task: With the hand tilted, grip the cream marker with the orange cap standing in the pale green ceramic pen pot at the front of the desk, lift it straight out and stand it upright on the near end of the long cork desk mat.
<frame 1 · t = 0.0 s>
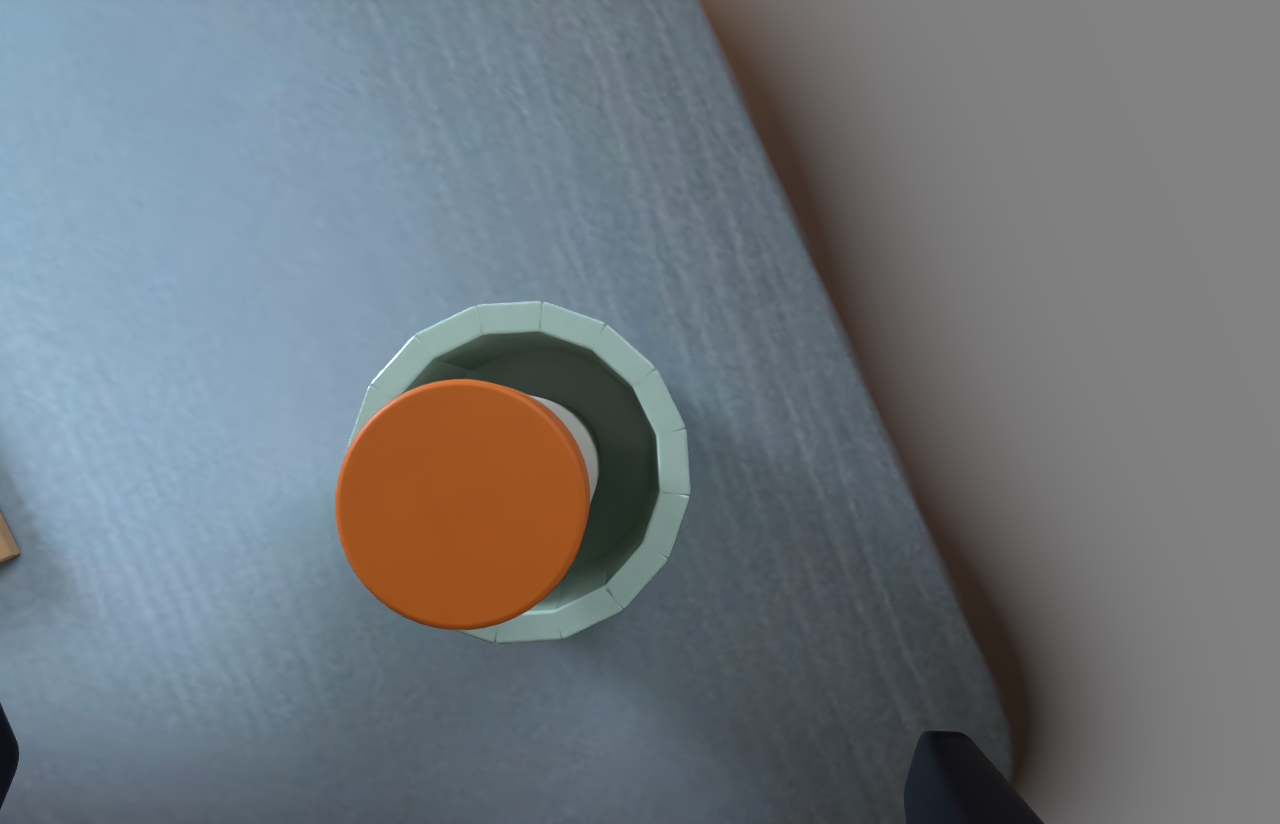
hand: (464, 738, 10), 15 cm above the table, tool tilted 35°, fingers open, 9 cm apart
pen pot: (541, 459, 25), on the table
marker: (540, 460, 24), resting on pen pot
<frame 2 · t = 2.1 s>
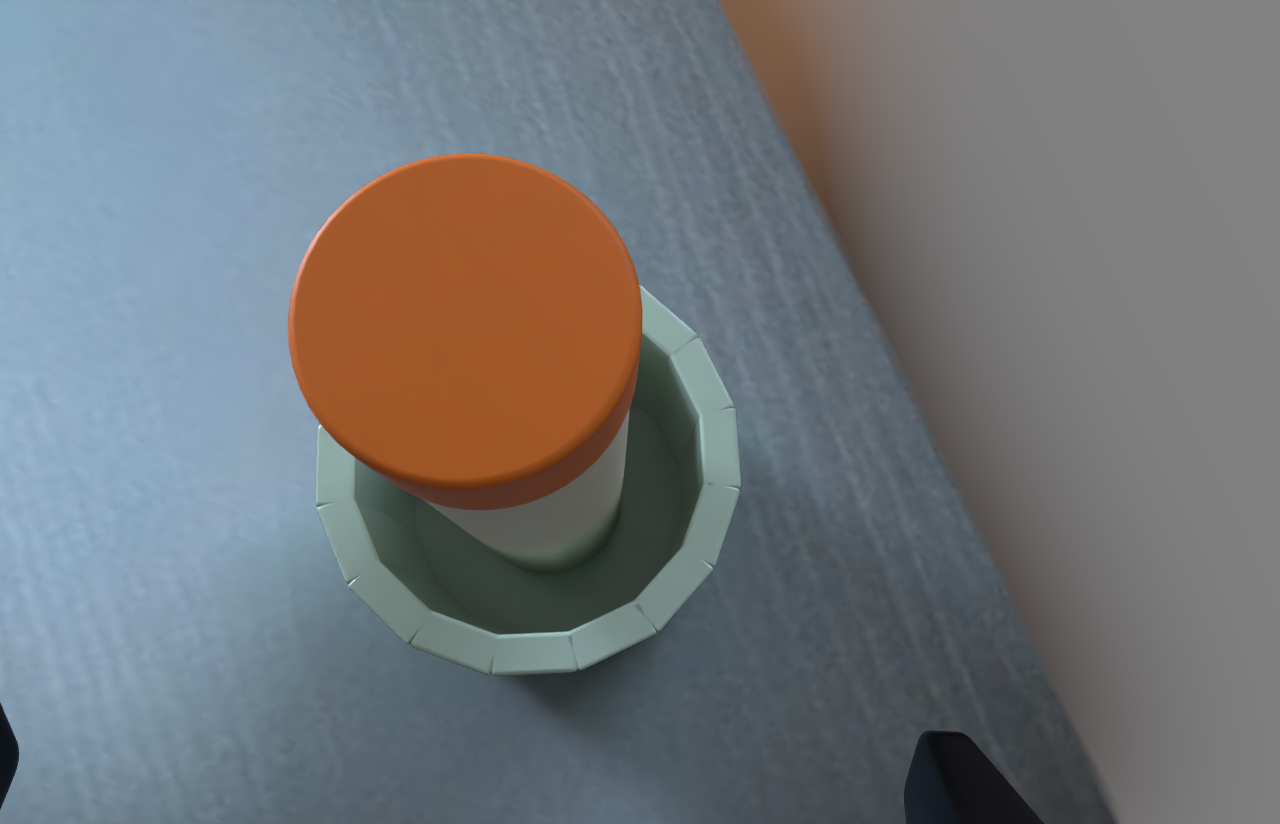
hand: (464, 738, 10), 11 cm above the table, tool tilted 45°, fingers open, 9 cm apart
pen pot: (549, 502, 21), on the table
marker: (548, 499, 20), resting on pen pot
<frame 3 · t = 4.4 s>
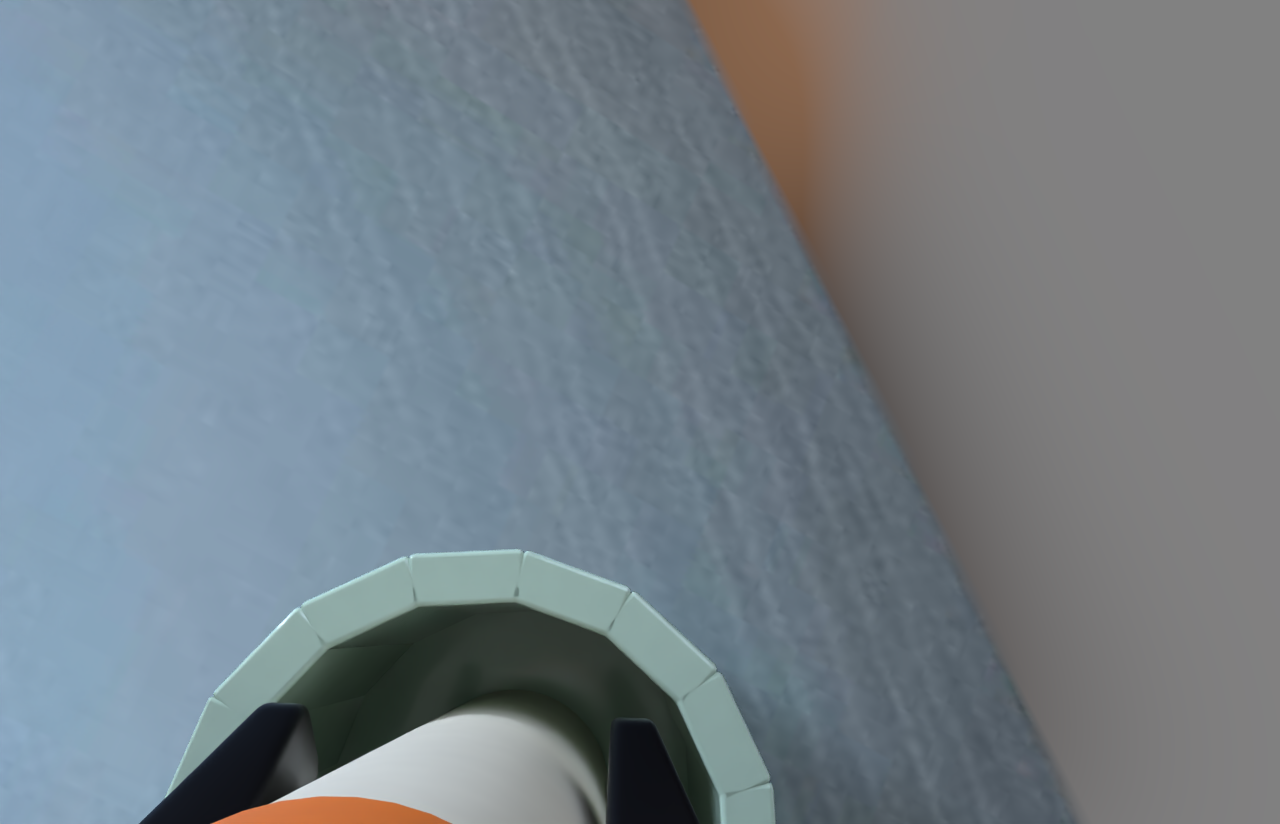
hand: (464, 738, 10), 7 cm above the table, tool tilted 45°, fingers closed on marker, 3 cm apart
pen pot: (516, 785, 16), on the table
marker: (511, 789, 15), point 1 cm above the table, touching gripper, pen pot
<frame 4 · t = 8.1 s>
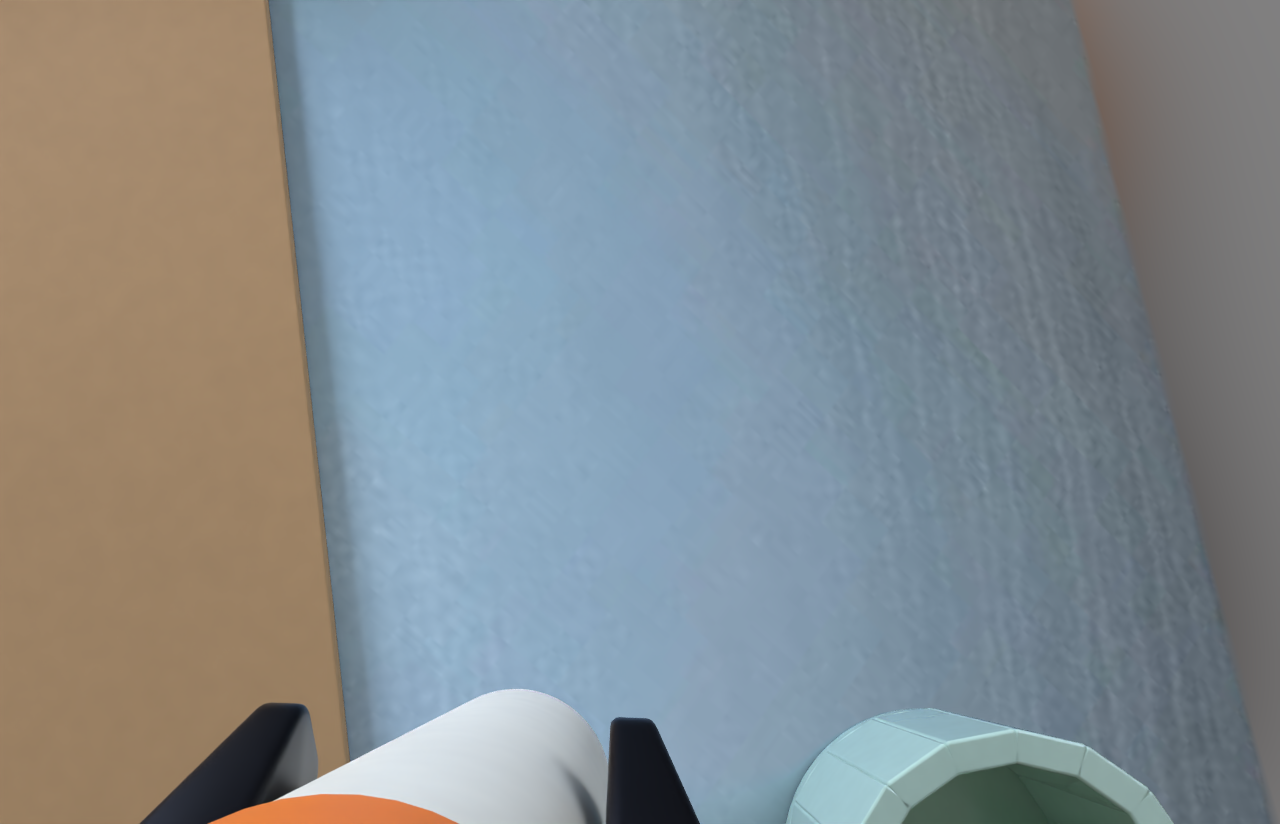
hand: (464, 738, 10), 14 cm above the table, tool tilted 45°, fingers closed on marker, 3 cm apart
marker: (513, 788, 15), point 8 cm above the table, touching gripper
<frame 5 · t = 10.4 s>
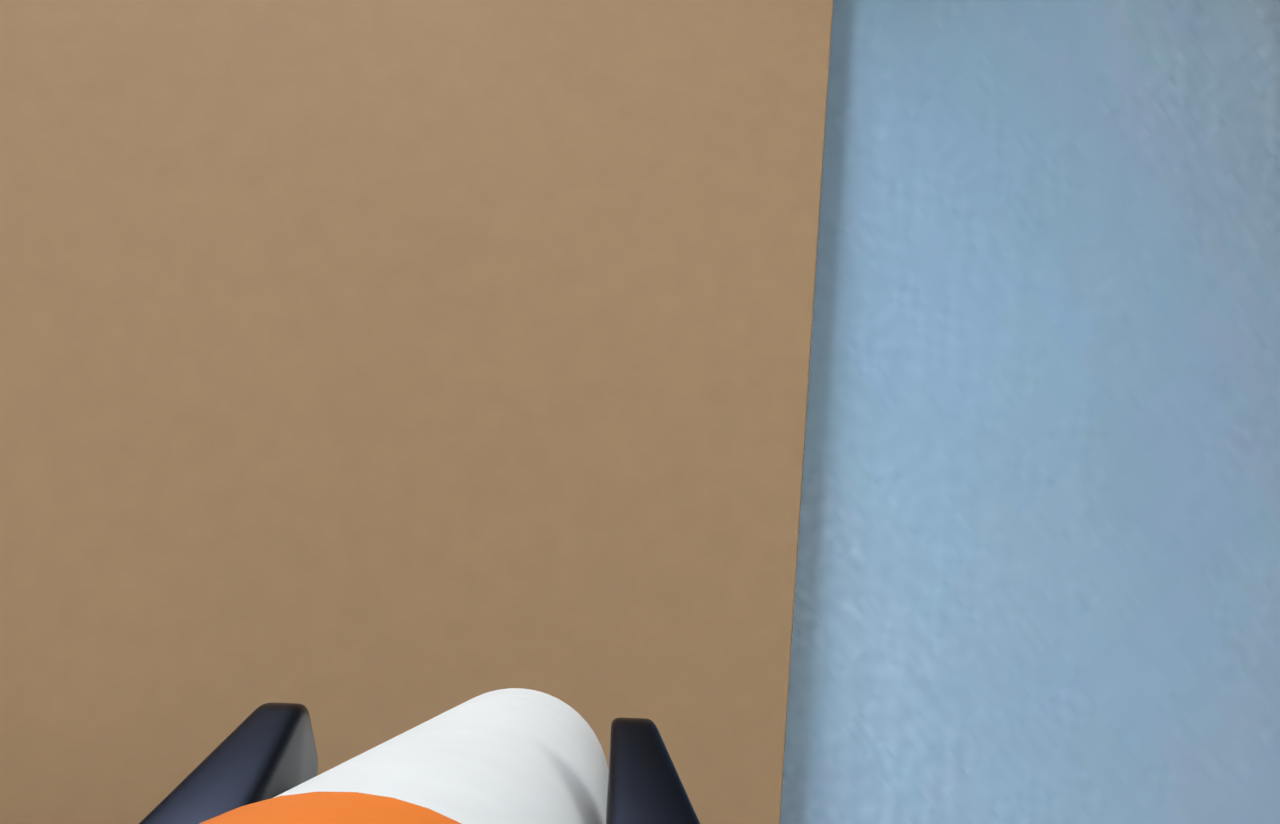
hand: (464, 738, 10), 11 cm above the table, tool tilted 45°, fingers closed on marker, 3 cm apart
marker: (513, 788, 15), point 5 cm above the table, touching gripper
desk mat: (389, 24, 24), on the table
when the fingers open (6 cm above the table, at t = 12.0 s): marker stays where it is, resting on desk mat.
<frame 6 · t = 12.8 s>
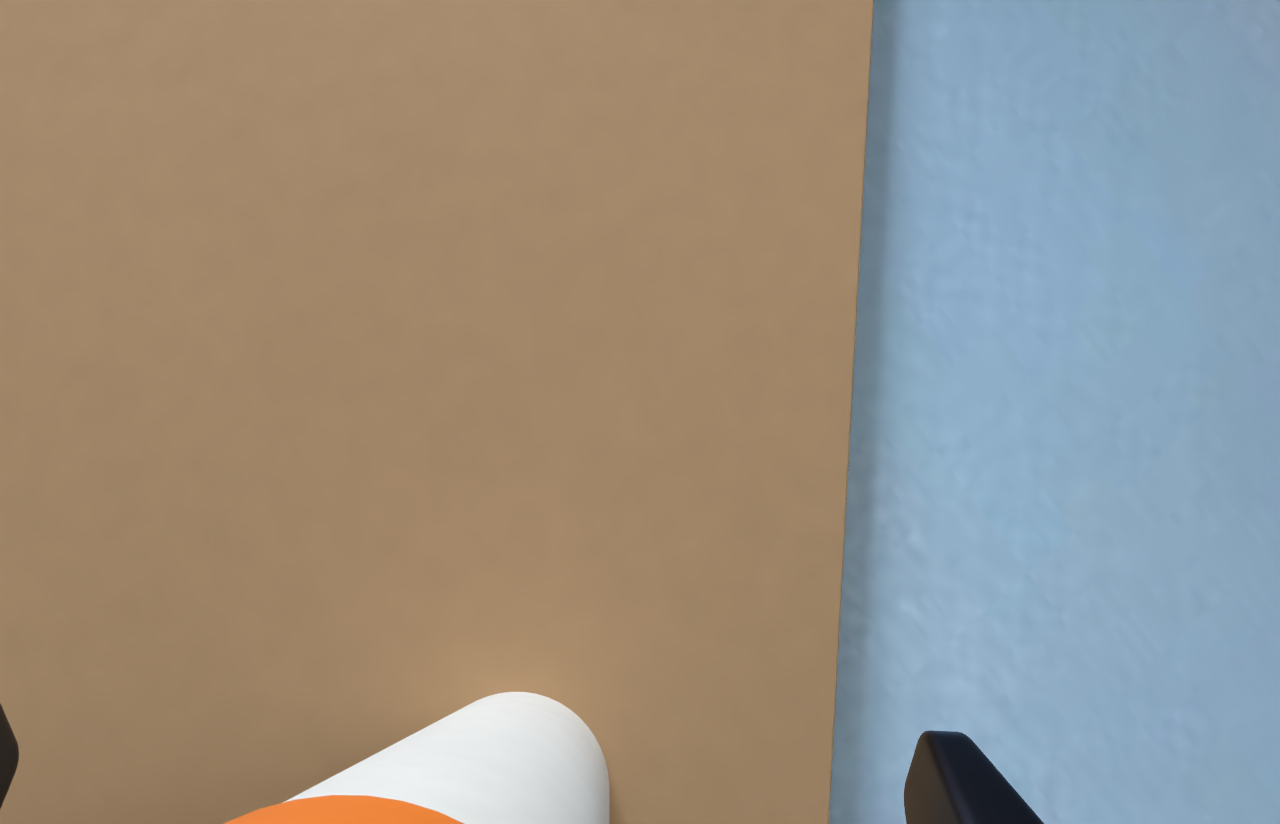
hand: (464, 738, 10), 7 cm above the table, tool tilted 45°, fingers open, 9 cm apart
marker: (514, 789, 16), resting on desk mat
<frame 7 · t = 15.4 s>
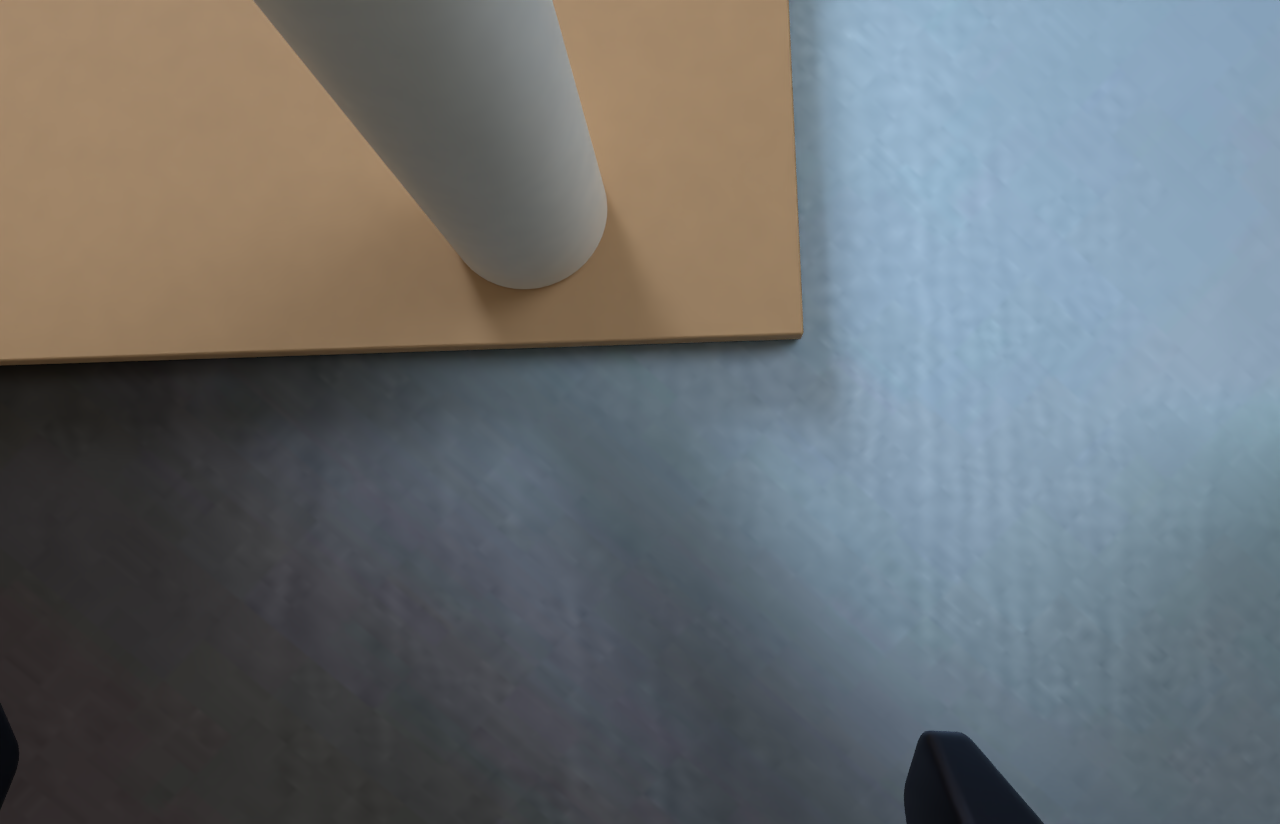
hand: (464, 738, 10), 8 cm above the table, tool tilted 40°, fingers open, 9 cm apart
marker: (528, 212, 18), resting on desk mat
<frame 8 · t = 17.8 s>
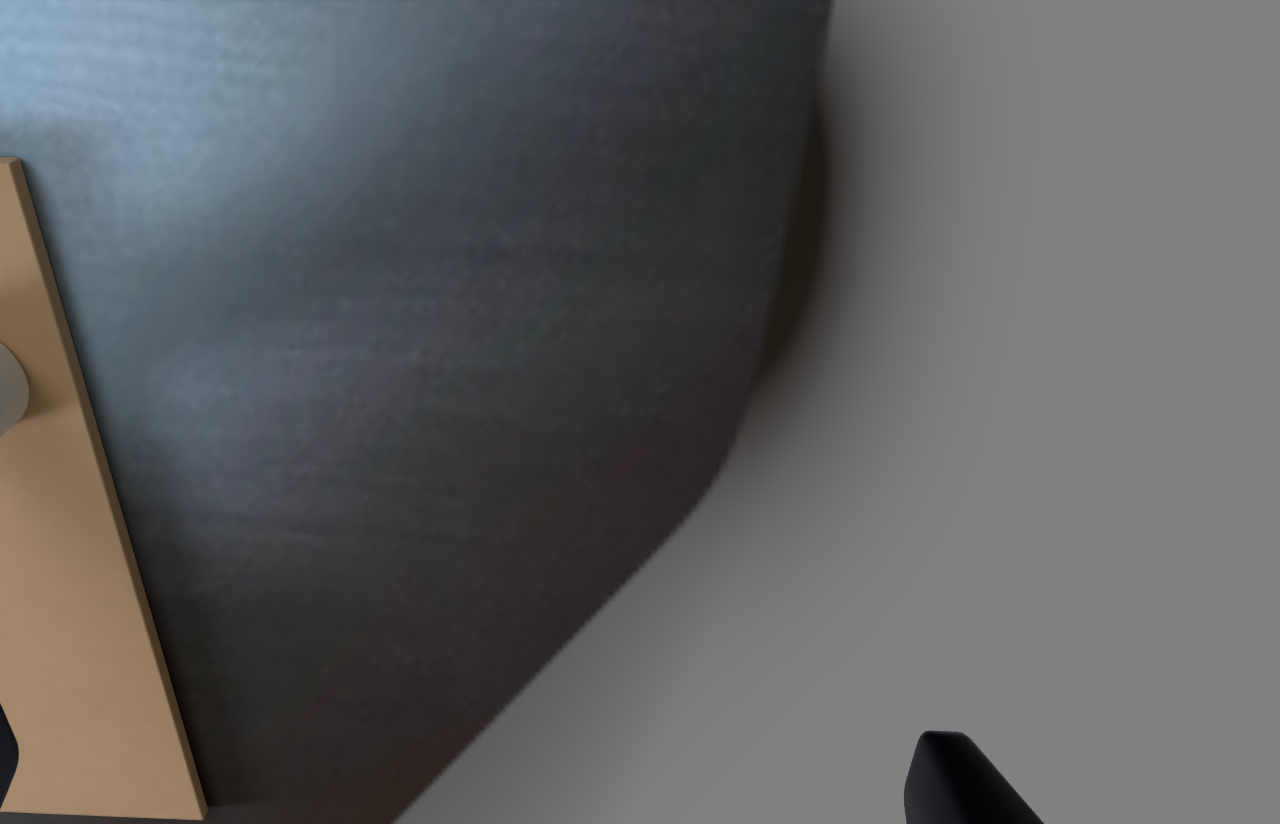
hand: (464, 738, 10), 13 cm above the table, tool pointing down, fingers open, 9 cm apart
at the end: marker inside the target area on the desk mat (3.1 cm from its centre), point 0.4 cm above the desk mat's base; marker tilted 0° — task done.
